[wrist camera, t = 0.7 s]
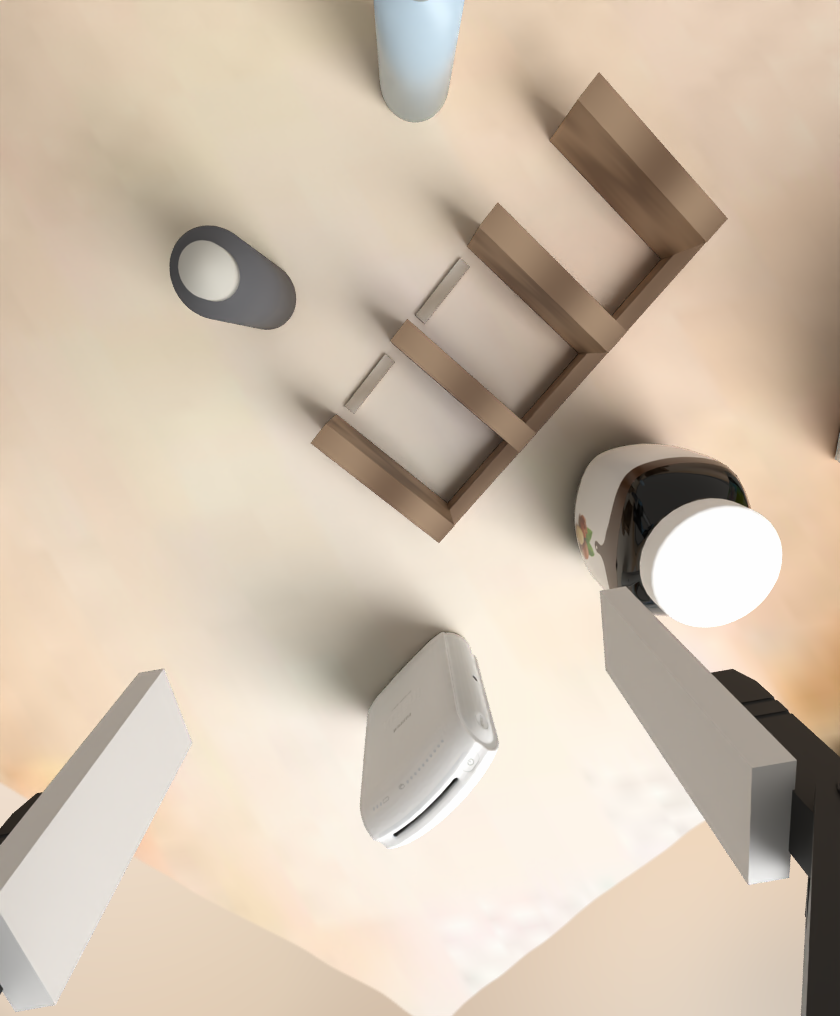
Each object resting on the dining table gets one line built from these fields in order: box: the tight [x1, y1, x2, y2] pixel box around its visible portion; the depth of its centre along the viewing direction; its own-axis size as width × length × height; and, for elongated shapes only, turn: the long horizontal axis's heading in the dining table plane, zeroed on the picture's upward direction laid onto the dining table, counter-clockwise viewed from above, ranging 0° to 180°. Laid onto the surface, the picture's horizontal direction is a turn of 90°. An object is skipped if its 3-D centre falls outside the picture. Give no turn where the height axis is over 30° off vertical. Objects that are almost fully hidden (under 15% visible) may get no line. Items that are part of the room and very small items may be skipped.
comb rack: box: [311, 73, 728, 543], centre depth 31 cm, size 11×26×5 cm, turn 140°
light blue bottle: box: [374, 0, 464, 122], centre depth 24 cm, size 4×4×10 cm
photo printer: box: [360, 632, 499, 849], centre depth 35 cm, size 10×4×12 cm, turn 139°
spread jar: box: [574, 444, 782, 627], centre depth 32 cm, size 12×11×12 cm
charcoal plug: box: [170, 226, 296, 330], centre depth 27 cm, size 4×4×10 cm
